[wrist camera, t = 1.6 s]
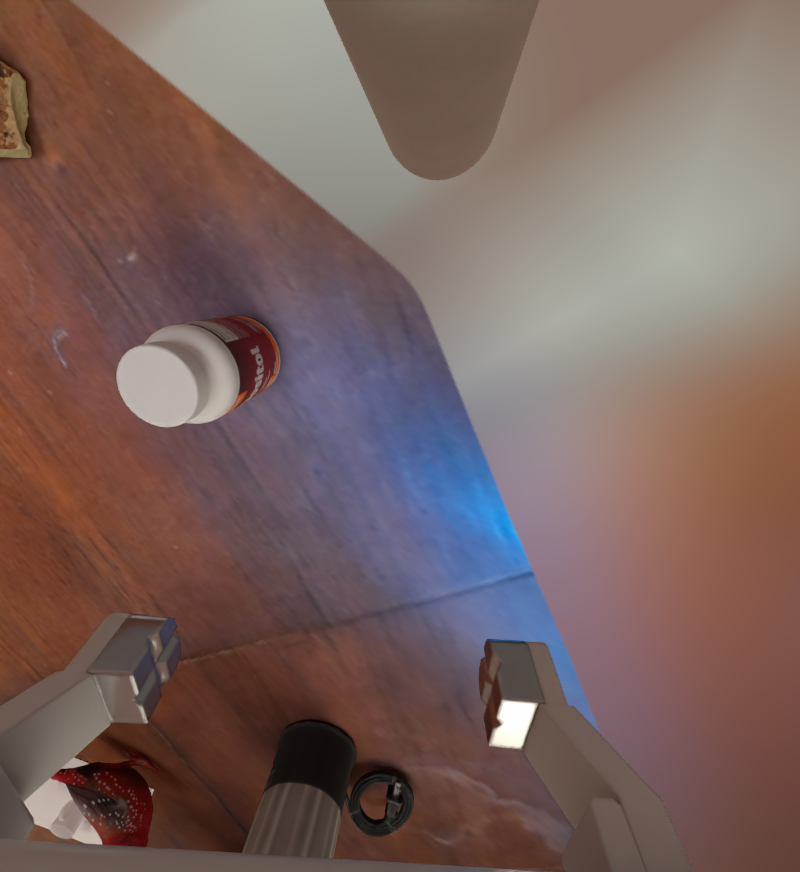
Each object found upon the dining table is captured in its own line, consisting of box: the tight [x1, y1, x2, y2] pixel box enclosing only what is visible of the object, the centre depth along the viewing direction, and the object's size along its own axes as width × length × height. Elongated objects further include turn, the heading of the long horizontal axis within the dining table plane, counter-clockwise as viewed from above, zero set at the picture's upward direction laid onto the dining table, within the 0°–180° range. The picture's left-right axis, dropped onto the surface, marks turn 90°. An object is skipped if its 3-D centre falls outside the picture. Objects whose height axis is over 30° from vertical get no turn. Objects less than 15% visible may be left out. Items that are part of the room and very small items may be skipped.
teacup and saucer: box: [49, 782, 96, 839], centre depth 56 cm, size 9×8×4 cm
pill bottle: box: [116, 316, 281, 427], centre depth 28 cm, size 6×6×11 cm
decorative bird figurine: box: [51, 750, 160, 847], centre depth 49 cm, size 3×18×10 cm, turn 50°
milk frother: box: [242, 721, 414, 858], centre depth 43 cm, size 14×16×15 cm
